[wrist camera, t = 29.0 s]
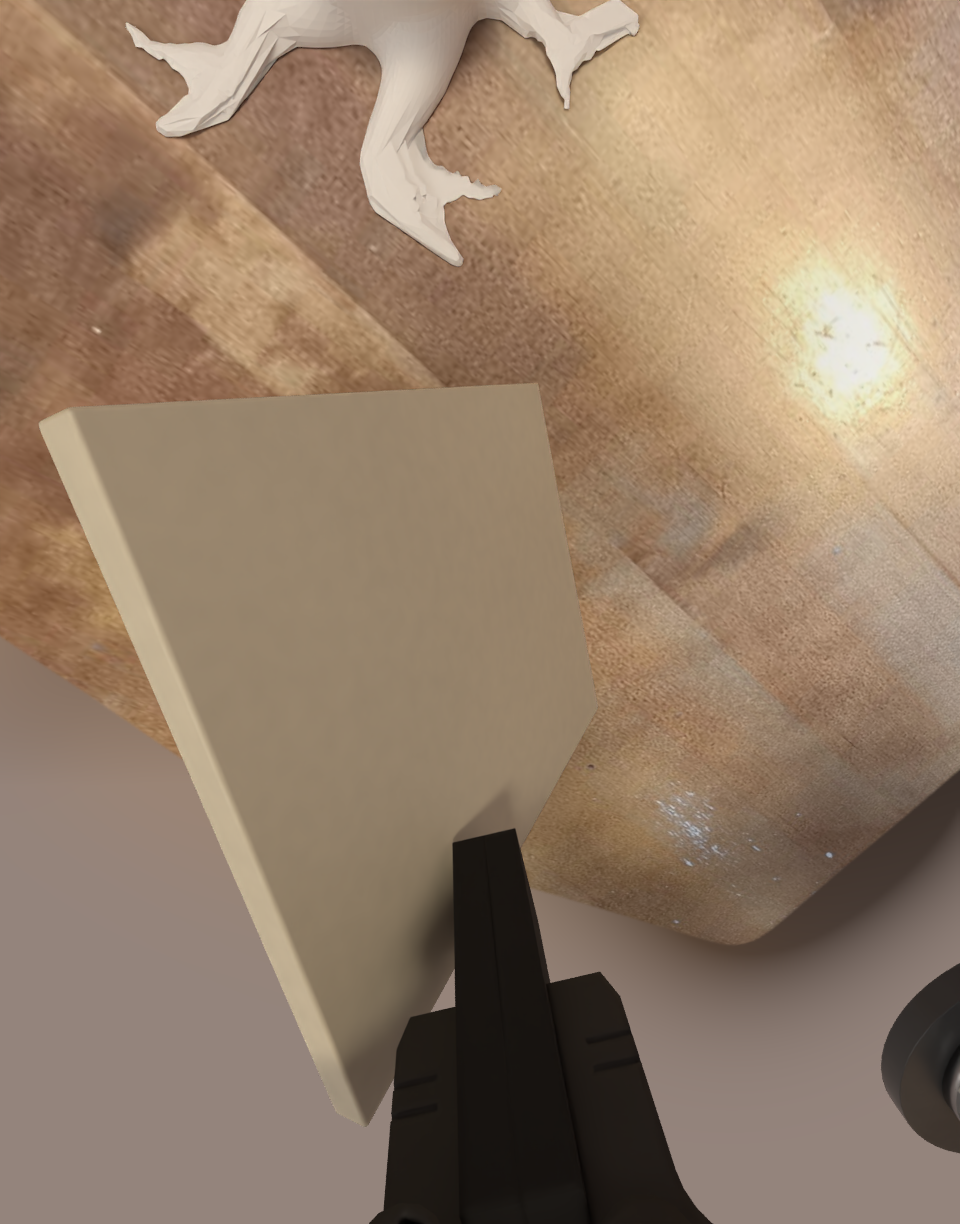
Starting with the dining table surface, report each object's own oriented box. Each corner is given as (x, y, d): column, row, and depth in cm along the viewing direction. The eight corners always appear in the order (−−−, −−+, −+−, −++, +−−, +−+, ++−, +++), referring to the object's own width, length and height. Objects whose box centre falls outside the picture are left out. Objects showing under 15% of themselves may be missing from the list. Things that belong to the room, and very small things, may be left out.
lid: (334, 1114, 10) (367, 1131, 10) (32, 421, 7) (64, 405, 7) (580, 707, 23) (599, 707, 23) (517, 388, 20) (538, 382, 19)
